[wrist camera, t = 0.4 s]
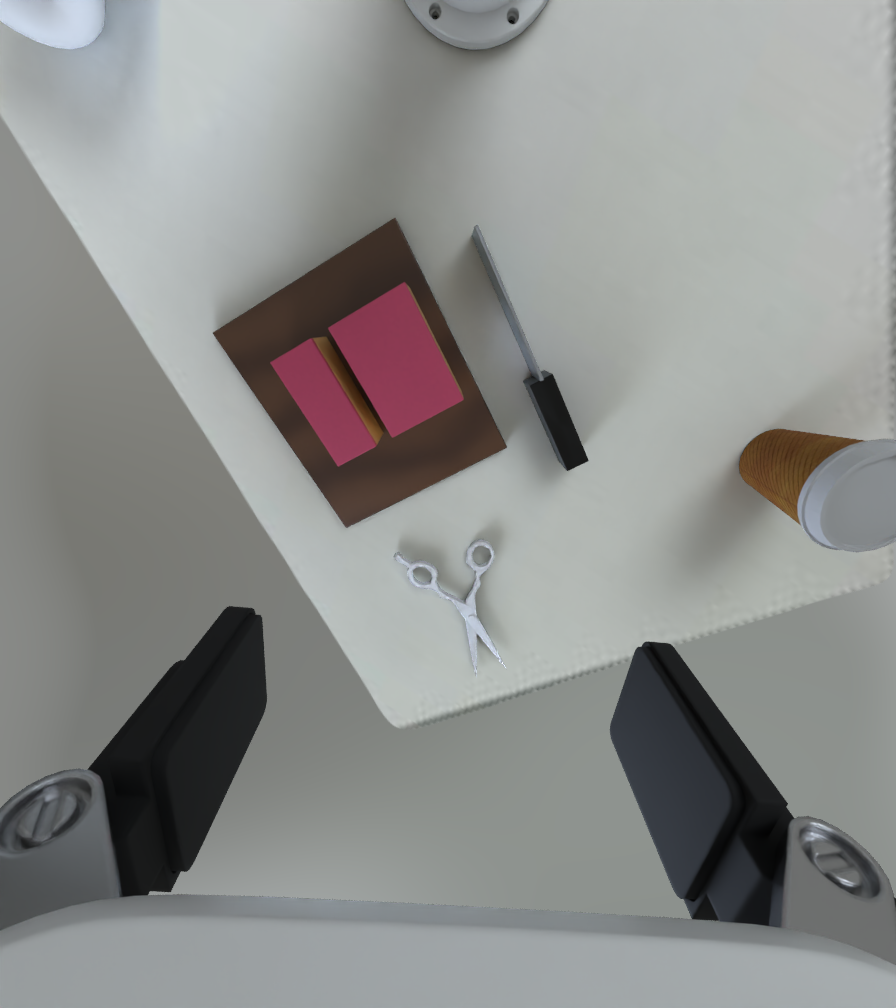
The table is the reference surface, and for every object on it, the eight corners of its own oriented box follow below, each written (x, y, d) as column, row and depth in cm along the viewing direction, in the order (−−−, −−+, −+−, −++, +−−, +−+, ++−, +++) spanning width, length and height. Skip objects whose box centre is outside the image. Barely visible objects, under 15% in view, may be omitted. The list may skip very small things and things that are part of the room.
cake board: (216, 332, 40) (212, 333, 39) (396, 219, 36) (395, 217, 36) (347, 525, 47) (346, 528, 46) (506, 445, 44) (507, 447, 43)
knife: (461, 241, 37) (463, 233, 33) (484, 228, 37) (489, 217, 33) (558, 460, 44) (568, 473, 41) (578, 451, 44) (590, 462, 40)
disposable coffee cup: (835, 419, 43) (970, 453, 32) (792, 506, 47) (900, 563, 36) (744, 405, 42) (851, 435, 31) (708, 495, 46) (792, 549, 35)
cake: (341, 327, 39) (327, 327, 34) (409, 287, 37) (404, 281, 33) (397, 425, 42) (392, 438, 38) (461, 391, 41) (464, 399, 36)
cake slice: (290, 358, 40) (269, 362, 35) (326, 336, 39) (310, 338, 34) (349, 451, 43) (337, 466, 38) (383, 433, 42) (376, 446, 38)
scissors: (485, 527, 46) (533, 665, 54) (484, 524, 47) (531, 661, 54) (393, 556, 48) (452, 687, 55) (394, 552, 48) (452, 682, 56)
